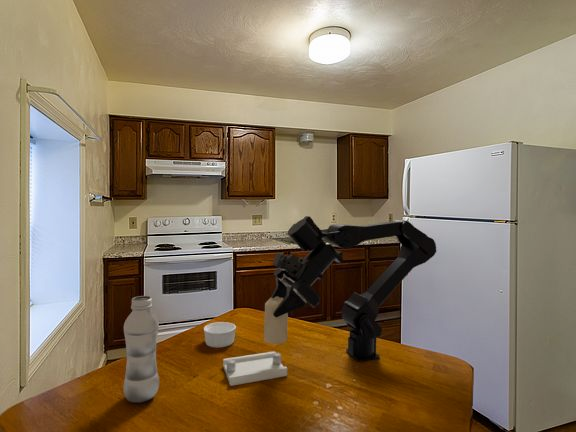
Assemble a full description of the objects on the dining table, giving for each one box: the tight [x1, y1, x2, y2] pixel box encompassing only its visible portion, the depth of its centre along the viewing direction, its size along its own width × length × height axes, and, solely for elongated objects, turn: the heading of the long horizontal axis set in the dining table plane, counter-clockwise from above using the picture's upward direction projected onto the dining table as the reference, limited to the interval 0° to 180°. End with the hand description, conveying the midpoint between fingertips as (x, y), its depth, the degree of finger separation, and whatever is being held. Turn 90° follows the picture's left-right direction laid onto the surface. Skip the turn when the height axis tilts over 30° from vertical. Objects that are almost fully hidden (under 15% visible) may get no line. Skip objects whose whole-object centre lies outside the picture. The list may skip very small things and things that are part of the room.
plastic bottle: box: [122, 295, 160, 404], centre depth 65 cm, size 6×7×20 cm
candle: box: [263, 296, 289, 345], centre depth 78 cm, size 6×6×10 cm
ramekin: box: [203, 321, 237, 349], centre depth 93 cm, size 9×9×4 cm
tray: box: [222, 350, 288, 387], centre depth 77 cm, size 13×9×3 cm
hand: (270, 312), depth 77 cm, fingers closed on candle, 5 cm apart
